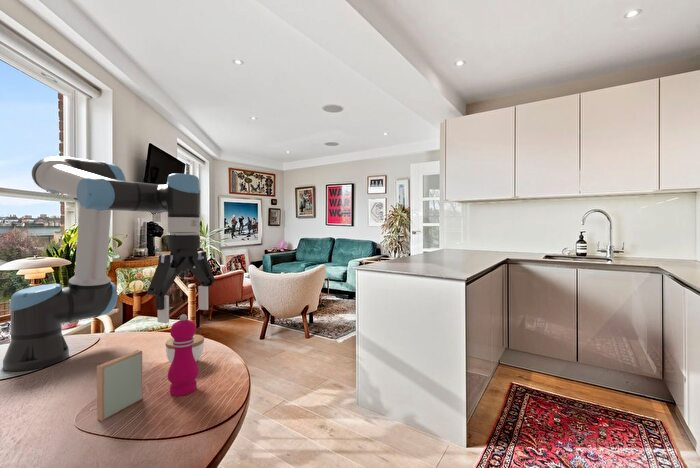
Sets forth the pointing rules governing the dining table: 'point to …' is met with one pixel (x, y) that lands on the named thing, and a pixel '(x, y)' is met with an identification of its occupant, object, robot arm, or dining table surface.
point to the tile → (119, 384)
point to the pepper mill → (183, 358)
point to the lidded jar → (196, 348)
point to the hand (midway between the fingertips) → (184, 315)
